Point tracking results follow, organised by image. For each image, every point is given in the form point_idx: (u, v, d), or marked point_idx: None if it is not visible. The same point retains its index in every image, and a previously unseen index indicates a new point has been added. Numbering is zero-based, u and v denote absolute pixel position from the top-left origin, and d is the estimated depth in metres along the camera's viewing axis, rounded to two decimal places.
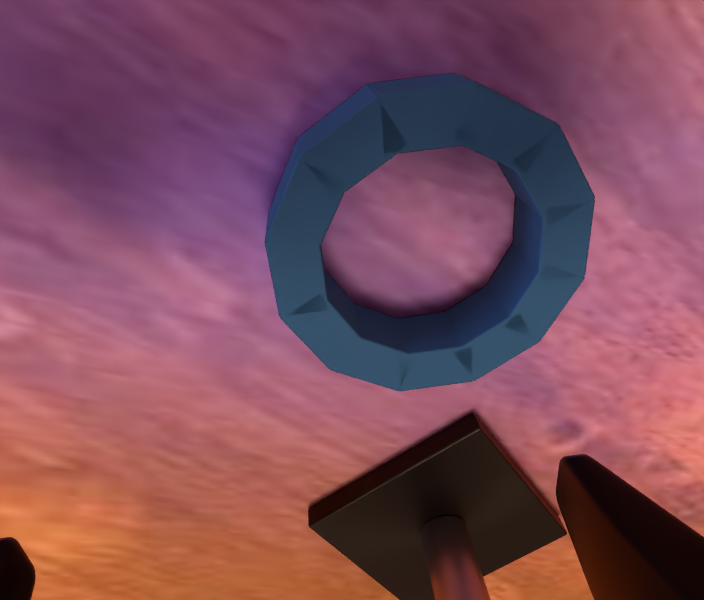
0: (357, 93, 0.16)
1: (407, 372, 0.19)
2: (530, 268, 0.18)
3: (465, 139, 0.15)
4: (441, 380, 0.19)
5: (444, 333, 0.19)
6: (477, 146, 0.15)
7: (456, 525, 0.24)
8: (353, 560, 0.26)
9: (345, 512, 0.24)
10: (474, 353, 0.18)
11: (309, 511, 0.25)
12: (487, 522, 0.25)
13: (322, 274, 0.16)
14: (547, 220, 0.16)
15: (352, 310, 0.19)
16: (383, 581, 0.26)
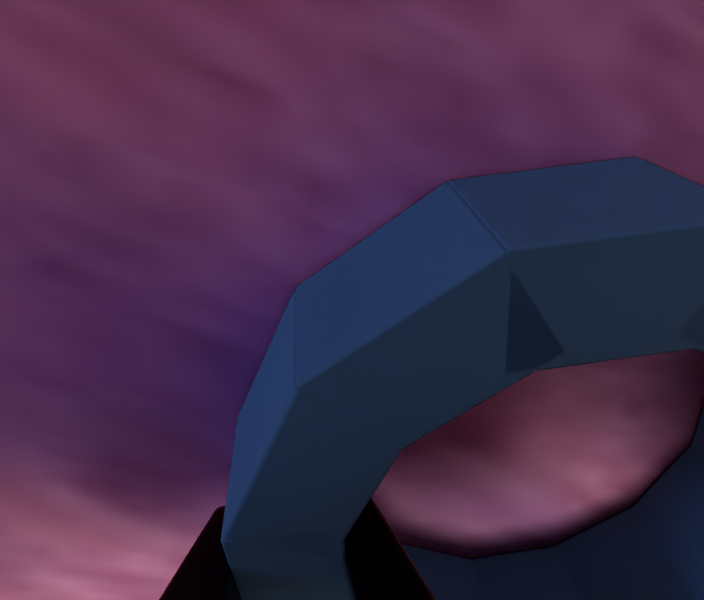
0: (427, 205, 0.07)
1: None
2: None
3: (703, 337, 0.06)
4: None
5: None
6: None
7: None
8: None
9: None
10: None
11: None
12: None
13: (347, 584, 0.08)
14: None
15: None
16: None
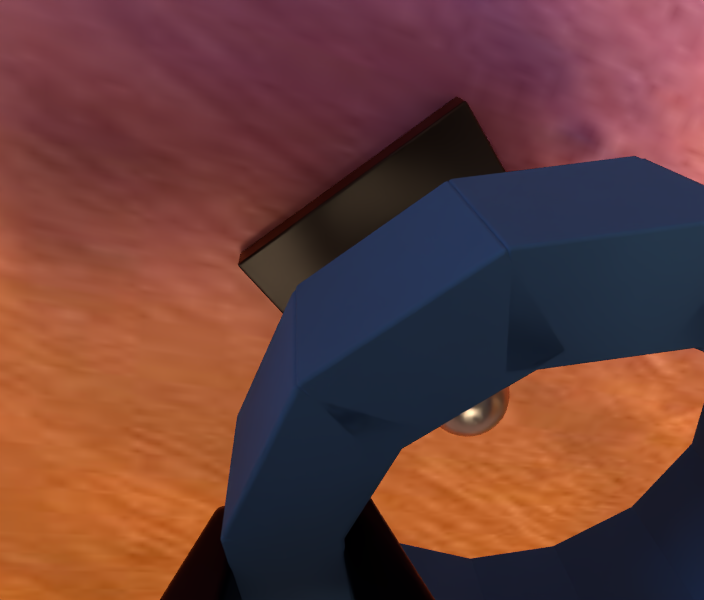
0: (427, 204, 0.07)
1: None
2: None
3: (703, 337, 0.06)
4: None
5: None
6: None
7: None
8: None
9: (286, 243, 0.18)
10: None
11: (241, 254, 0.19)
12: None
13: (347, 583, 0.08)
14: None
15: None
16: None
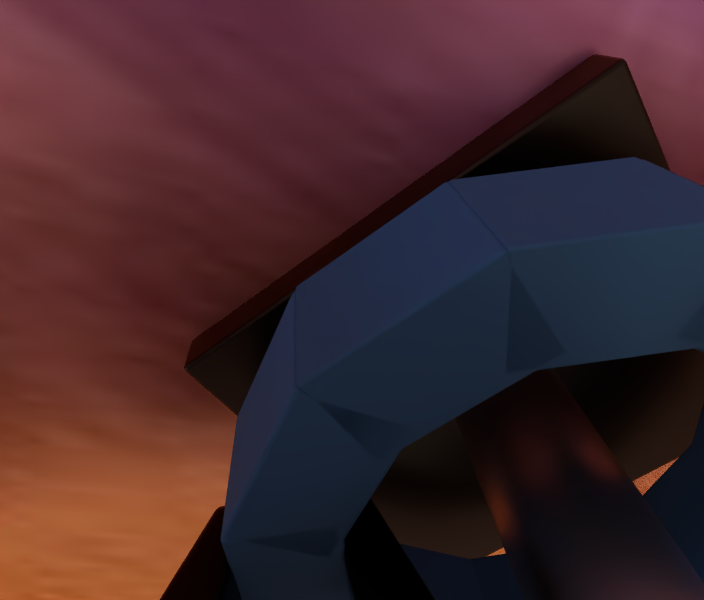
0: (427, 205, 0.07)
1: None
2: None
3: (703, 337, 0.06)
4: None
5: None
6: None
7: None
8: None
9: (270, 330, 0.10)
10: None
11: (192, 343, 0.11)
12: (603, 373, 0.11)
13: (347, 584, 0.08)
14: None
15: None
16: None
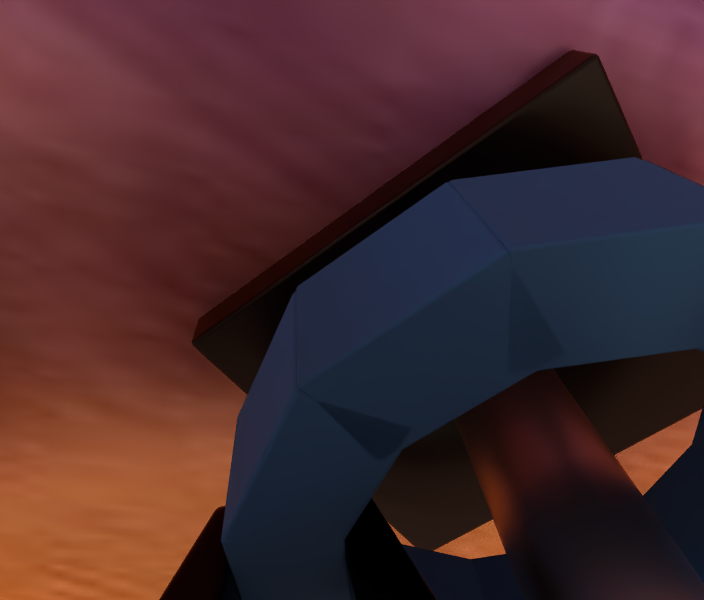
0: (428, 205, 0.07)
1: None
2: None
3: None
4: None
5: None
6: None
7: None
8: None
9: (272, 307, 0.10)
10: None
11: (199, 321, 0.11)
12: None
13: (347, 584, 0.08)
14: None
15: None
16: None
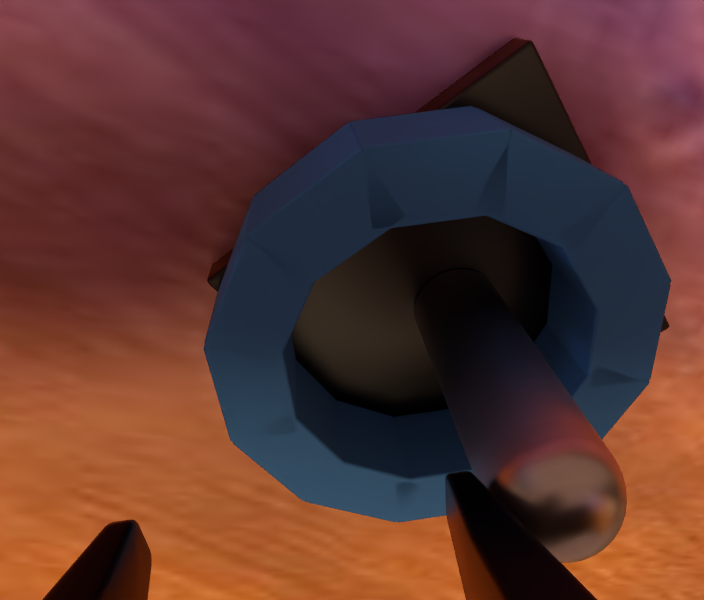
0: (334, 136, 0.11)
1: (407, 501, 0.14)
2: (574, 367, 0.13)
3: (490, 207, 0.10)
4: None
5: (456, 444, 0.14)
6: (507, 216, 0.10)
7: (480, 280, 0.13)
8: None
9: None
10: None
11: (212, 265, 0.14)
12: (534, 291, 0.14)
13: (287, 387, 0.12)
14: (603, 312, 0.12)
15: (333, 416, 0.14)
16: None
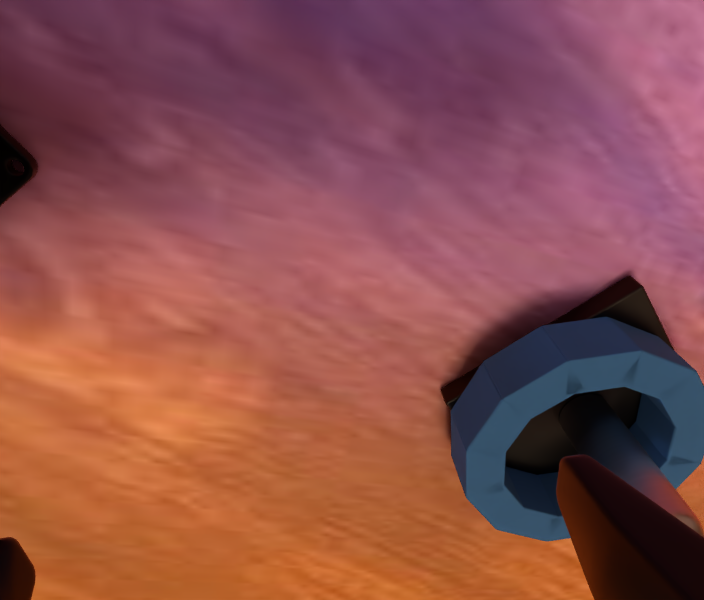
0: (535, 336, 0.21)
1: (555, 529, 0.23)
2: (657, 453, 0.23)
3: (626, 383, 0.20)
4: None
5: None
6: (634, 387, 0.20)
7: (603, 402, 0.23)
8: None
9: None
10: None
11: (443, 390, 0.23)
12: (630, 404, 0.24)
13: (504, 469, 0.21)
14: (678, 428, 0.21)
15: (510, 478, 0.24)
16: None
